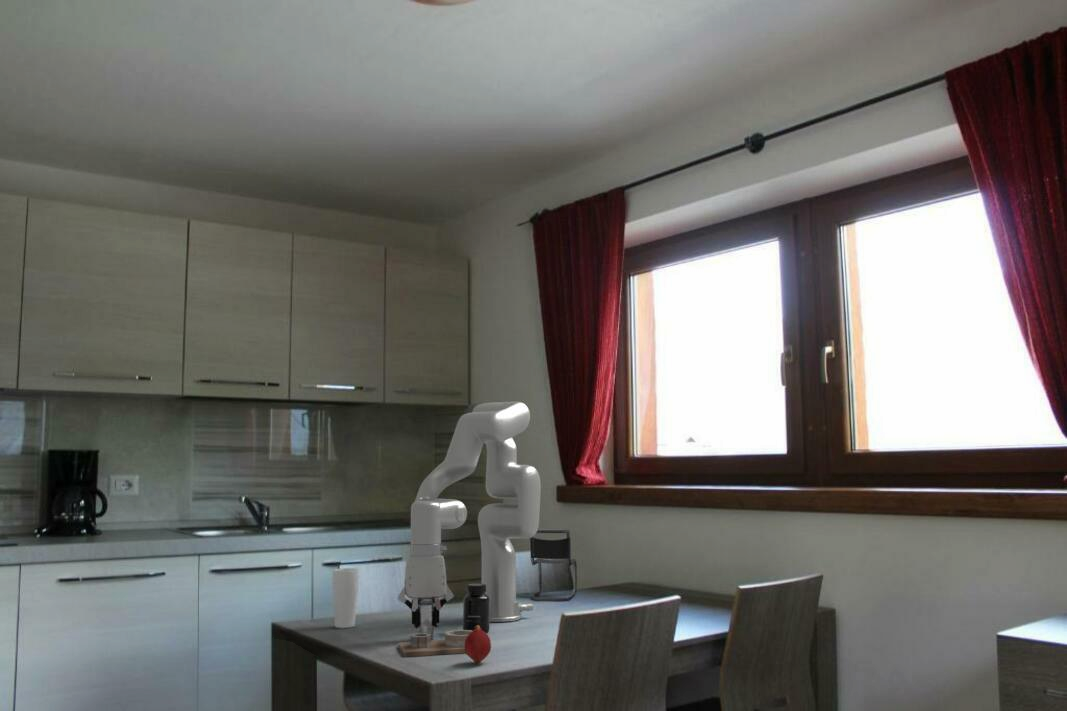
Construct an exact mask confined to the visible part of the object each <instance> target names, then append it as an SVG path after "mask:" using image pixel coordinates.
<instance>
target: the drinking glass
mask: <svg viewBox="0 0 1067 711" xmlns="http://www.w3.org/2000/svg"><path fill="white" fill-rule="evenodd" d="M358 592H359V569H358V568H353V567H352V568H350V567H349V568H348V567H347V568H346V567H344V568H343V567H342V568H336V569H333V571H332V597H333V598H332V600H333V611H334V614H333V616H334V627H335V628H336V629H351V628H354V627H355V626H356V613H357V602H358Z"/></svg>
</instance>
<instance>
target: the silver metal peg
mask: <svg viewBox="0 0 1067 711" xmlns="http://www.w3.org/2000/svg"><path fill="white" fill-rule="evenodd" d="M434 603H435V600H434V598H419V599H418V604H417V611H418V612H419V627H418V628H416V629H417V632H416V634H418V633H427V634H431V641H433V640H435V639H434V638H435V637H434V636H435V635H434V634H435V632H434V630H435V627H434Z"/></svg>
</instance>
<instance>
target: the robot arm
mask: <svg viewBox="0 0 1067 711" xmlns="http://www.w3.org/2000/svg"><path fill="white" fill-rule="evenodd" d="M530 421H531V412H530V409H529V408H528V406H527V405H526V404H525V403H523V402H522V401H498V402H497V401H496V402H493V401H492V402H483V403H480V404H477V405H476V406H474V407H473V409H472V412H467V413H464V414H462V415H461V416H460V417H459V419H458V421H457V424H456V426H455V430H454V431H453V432H454V433H453V435H452V438H451V441H450V444H449V447H448V450H447V453H446V456H445V458H444V460H443V461H442V462H441V463H440V464H438V465H437V466H436V467H435V468H434V469H433V470H432V471H431V472H430V473H429V474H428V475H427V476H426V477H425V478H424V479H423V481H422V482H421V484H420V487H419V488H418V491H417V494H416V497H415V500H414V502H412V504H411V506H410V556H407V557H406V563H405V570H404V571H405V572H404V586H402V588H401V591H400V593H398V595H397V598H396V599H397V600H398V601H399V602H401V603H403V604H404V605H406V606H407V607H408V608H409V609H410V610H411V625H413V627H414V628H415V629H417V628H418V627H419V612H418V611H417V604H418V599H419V598H434V600H435V603H434V628H437V627H438V624H439V623H440V611H441V609H442V608H443V606H444V605H446V603H447V602H449V601H450V600H452V599H453V598H454V593H453V592H452V591H451V589H450V588H449V586H448V584H447V572H446V571H447V570H446V562H445V558H444V555H442V554H443V553H444V552H447V550H448V546H447V545H443V543H442V530H444V529H446V530H449V529H450V530H453V529H458V528H459V527H461V526H463V525H464V524H465V522H466V521H467V518H468V510H467V507H466V505H465V504H464V502H462V501H461V500H458V499H453V498H439V495H441V493H442V492H443V491H444V490H445V489H446V488H447V487H449V486H451V485H452V484H454V483H456V482H458V481H460V480H462V479H465V478H467V477H469V476H470V475H472V474H473V473H474V472H475V471H476V468H477V465H478V462H479V458H480V456H481V453H482V449H483V447H484V444H485V446H486V468H485V469H486V470H485V491H486V493H487V495H488V496H489V497H491V498H494V499H503V500H504V499H505V500H508V499H509V500H510V499H511V500H517V503H507V502H506V503H504V502H503V503H498V502H496V503H490V504H487V505H485V506H483V507H481V509H480V510H479V512H478V516H477V525H478V526H477V527H478V532H479V536H480V537H479V538H480V544H481V584H486V592H485V594H486V595H487V596H488V597H489V599H490V623H506V622H507V623H508V622H514V621H519V620H521V619H522V612H525V611H526V612H528V611H529V612H532V611H533V610H534V605H533V603H521V602H519V601H517V580H516V579H517V574H516V573H517V566H516V564H517V563H516V560H517V559H516V558H517V556H516V551H515V547H514V546H513V544H512V542H511V540H510V539H515V540H516V539H517V540H527V539H530V538H532V537H533V536H534V537H535V535H536V534H537V533H536V532H537V530H539V526H540V511H541V510H540V508H541V493H542V492H541V490H542V488H541V478H540V474H539V472H538V470H537V469H536V467H535V466H532V465H529V464H518V462H517V461H518V460H517V458H518V456H517V455H518V454H517V453H518V452H517V450H518V449H517V445H516V442H515V440H514V437H516V436H517V435H519V434H521V433H523V432H524V431H525V430H526V429H527V428H528V426H529V424H530ZM405 596H406V597H407V598H406V597H405ZM410 599H411V601H410Z"/></svg>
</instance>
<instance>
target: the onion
mask: <svg viewBox="0 0 1067 711" xmlns="http://www.w3.org/2000/svg"><path fill="white" fill-rule="evenodd" d="M464 647H465V652H466V653H465V654H466V655H467V657H469V658H470V659H471V660H472V661H473V662H474V663H476V664H480V663H482V662H483V661H484V660H485V659H486V658H487V657H488V655H489V654H490V653H491V648H492V643H491V638H490V637H489V634H488V633H485V632H484V631H483V630H481V628H480V626H476V627H475V629H474V630H473V631H472V632H471V633H470V634H469V635H468V636H467V637H466V640H465V645H464Z"/></svg>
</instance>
